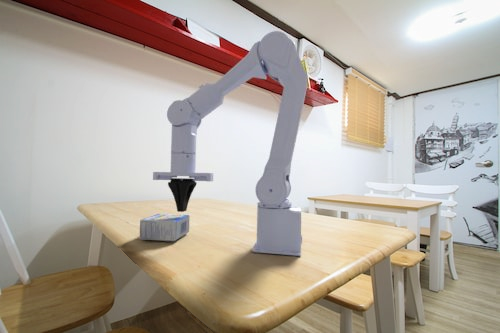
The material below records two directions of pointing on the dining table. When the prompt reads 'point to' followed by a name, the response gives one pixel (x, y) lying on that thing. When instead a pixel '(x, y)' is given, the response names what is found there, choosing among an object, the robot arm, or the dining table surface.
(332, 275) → the dining table surface
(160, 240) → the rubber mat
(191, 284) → the dining table surface
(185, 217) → the medicine box
